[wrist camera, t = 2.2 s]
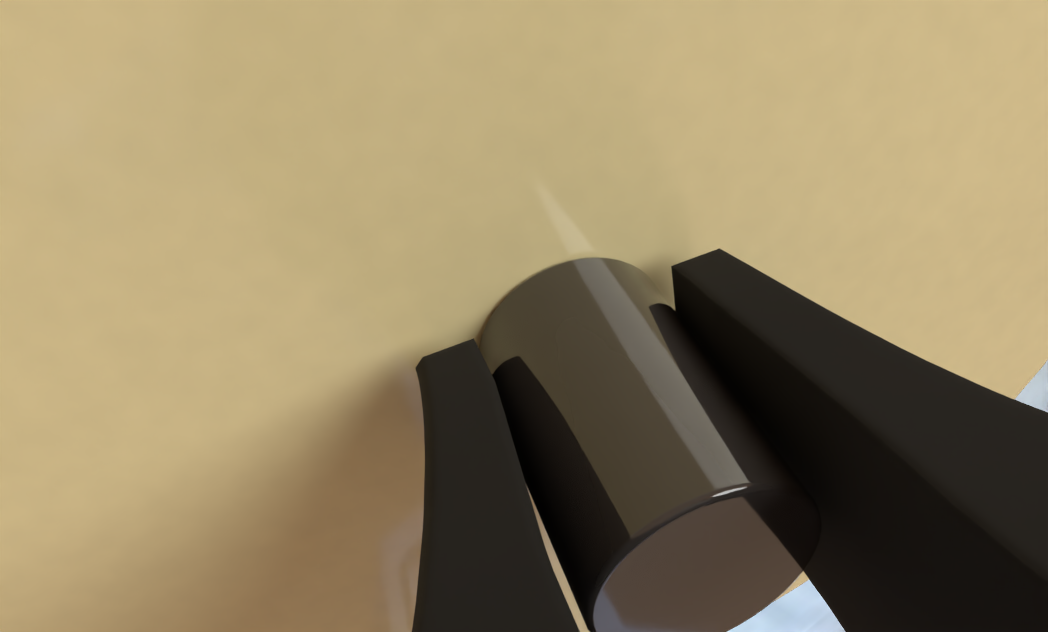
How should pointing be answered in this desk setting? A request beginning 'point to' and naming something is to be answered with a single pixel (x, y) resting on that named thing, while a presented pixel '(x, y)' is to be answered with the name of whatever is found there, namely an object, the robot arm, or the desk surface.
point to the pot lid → (470, 281)
